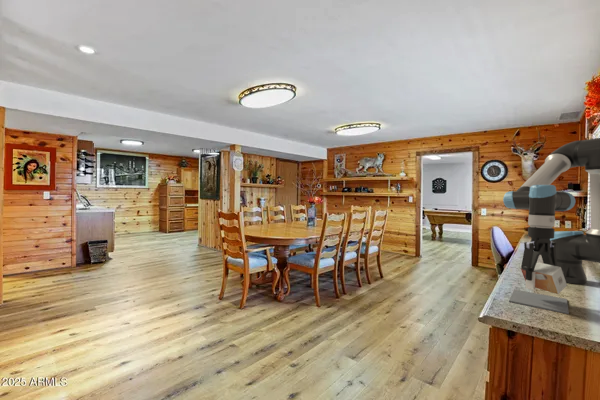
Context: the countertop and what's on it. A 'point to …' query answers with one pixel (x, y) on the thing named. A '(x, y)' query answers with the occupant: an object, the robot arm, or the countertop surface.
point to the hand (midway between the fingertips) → (538, 288)
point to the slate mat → (540, 301)
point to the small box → (548, 278)
